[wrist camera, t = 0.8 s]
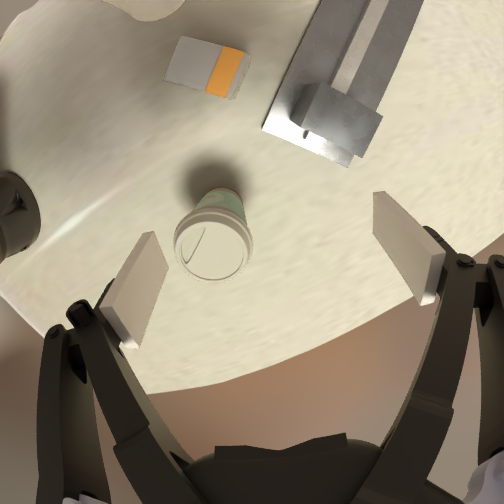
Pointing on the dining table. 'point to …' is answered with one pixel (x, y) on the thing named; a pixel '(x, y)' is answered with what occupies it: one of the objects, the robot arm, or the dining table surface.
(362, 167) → the dining table surface
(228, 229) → the coffee cup
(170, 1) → the mug
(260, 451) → the robot arm
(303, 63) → the rail board
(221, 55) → the module
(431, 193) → the dining table surface
